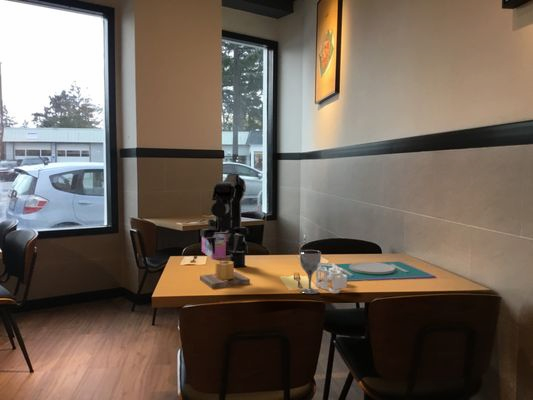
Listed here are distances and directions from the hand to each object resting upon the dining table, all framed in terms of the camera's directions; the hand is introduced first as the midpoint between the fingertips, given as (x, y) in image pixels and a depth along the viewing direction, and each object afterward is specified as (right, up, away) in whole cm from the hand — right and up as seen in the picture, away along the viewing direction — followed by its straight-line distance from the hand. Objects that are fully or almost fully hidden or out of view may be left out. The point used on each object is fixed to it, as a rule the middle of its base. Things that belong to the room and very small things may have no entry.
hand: (224, 253), depth 180 cm
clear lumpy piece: (+42, -13, -3) cm, 44 cm away
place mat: (+65, -12, +24) cm, 70 cm away
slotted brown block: (0, -12, +1) cm, 12 cm away
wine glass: (+33, -13, -11) cm, 37 cm away
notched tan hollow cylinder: (0, -10, +1) cm, 10 cm away
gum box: (-11, -8, +55) cm, 57 cm away
